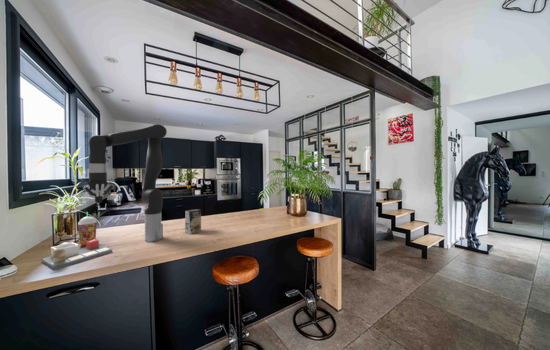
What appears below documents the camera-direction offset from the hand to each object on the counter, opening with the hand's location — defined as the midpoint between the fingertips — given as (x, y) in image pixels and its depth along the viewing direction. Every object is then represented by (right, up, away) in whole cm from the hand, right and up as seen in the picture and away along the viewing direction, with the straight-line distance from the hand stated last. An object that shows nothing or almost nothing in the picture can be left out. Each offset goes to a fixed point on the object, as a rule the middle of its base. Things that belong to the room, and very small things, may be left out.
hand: (98, 202), depth 110 cm
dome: (-10, -25, -8) cm, 28 cm away
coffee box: (+38, -26, +35) cm, 58 cm away
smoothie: (-15, -27, +10) cm, 33 cm away
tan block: (-4, -26, -16) cm, 31 cm away
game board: (-4, -27, -7) cm, 28 cm away
